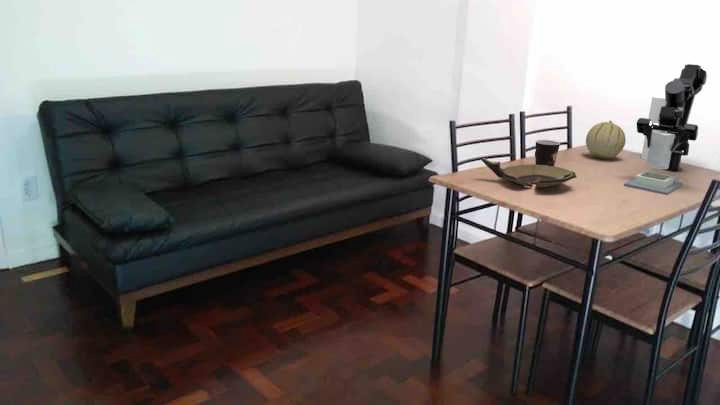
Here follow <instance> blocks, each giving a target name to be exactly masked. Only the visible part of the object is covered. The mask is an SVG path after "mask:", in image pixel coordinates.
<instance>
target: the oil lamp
mask: <svg viewBox="0 0 720 405" xmlns="http://www.w3.org/2000/svg"><path fill="white" fill-rule="evenodd" d="M480 160H481V162H483V164H484V165H485V166H486V167H487V168H488V169H489V170H491V171H492V172H493V174H495V176H497V177H498V178H500V179H508V180H509V181H511V182H513V183H516V184H518V185H522V186H524V187H530V188H533V187H535V188H538V189H539V188H548V187H549V188H550V187H553V186H557V185H560V184H562V183H566V182H568V181H570V180H573V179H575V178H577V175H576V172H574V171H571V170H569V169H566V168H564V167H559V166H556V165H554V166H549V165H535V164H519V165H513V166H507V167H505V168H501V161H491V160H488V159H487V158H484V157H482V158H480ZM529 183H532V184H529ZM534 185H535V186H534Z"/></svg>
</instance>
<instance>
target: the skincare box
mask: <svg viewBox="0 0 720 405" xmlns="http://www.w3.org/2000/svg"><path fill="white" fill-rule="evenodd" d="M674 137H675V134H670V133H667V132H663V131H653V132H652V136H651V142H650V147H649V152H648V157H647V160H646V162H645V166H647V167H650V168H653V169H657V170H661V171H662V170H666V169H668V168H669V162H670V157H671V152H672V151H671V149H672V146H673V142H674Z"/></svg>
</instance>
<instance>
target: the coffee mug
mask: <svg viewBox="0 0 720 405" xmlns="http://www.w3.org/2000/svg"><path fill="white" fill-rule="evenodd" d="M560 145H561V143H560V142H559V141H555V140H549V139H537V140H535V151H534V158H535V164H534V165H549V166H556V160H557V156H558V154H559V150H560V149H559V148H560Z"/></svg>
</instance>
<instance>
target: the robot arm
mask: <svg viewBox="0 0 720 405" xmlns="http://www.w3.org/2000/svg"><path fill="white" fill-rule="evenodd" d="M707 77H708V74H707V71H706V70H704V69H703V68H702V66H701V65H699V64H690V63H688V64H685V65H684V68H682V69H681V72H680V76H679V77H678V78H676V77H675V78H674V79H673V80H670V81H669V82H668V83H667V84H665V86H664V89H665V90H664V97H665V100H666V105H665V107H661V110H660V114H659V119H658V122H659V124H655V123H652V122H651V119H648V118H645V117H639V118H638V119H637V121H636V132H637V133H638V134H642V135H643V136H644V137H645V136H646V137H647V146H648V148H649V147H650V142H651V136H652V130H653V129H654V130H661V131H665V132H667V133H670V134H675V137H674V142H673V146H672V149H671V151H672V152H671V157H670V162H669V168H668V169H665V170H667V171H672V172H678V171H681V170H682V169H683V167H680V165H681V161H682V156H683V157H684V156H688V155H689V150H690V143H689V141H696V140H697V138H698V135H699V126H698V125H697V124H692V123H688V122H689V117H690V114H691V112H692V108H693V103H694V100H695V97H696V96H697V95H698V94H699V93H700V92H701V91H702V89H703V86H704V85H706V82H707Z"/></svg>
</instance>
